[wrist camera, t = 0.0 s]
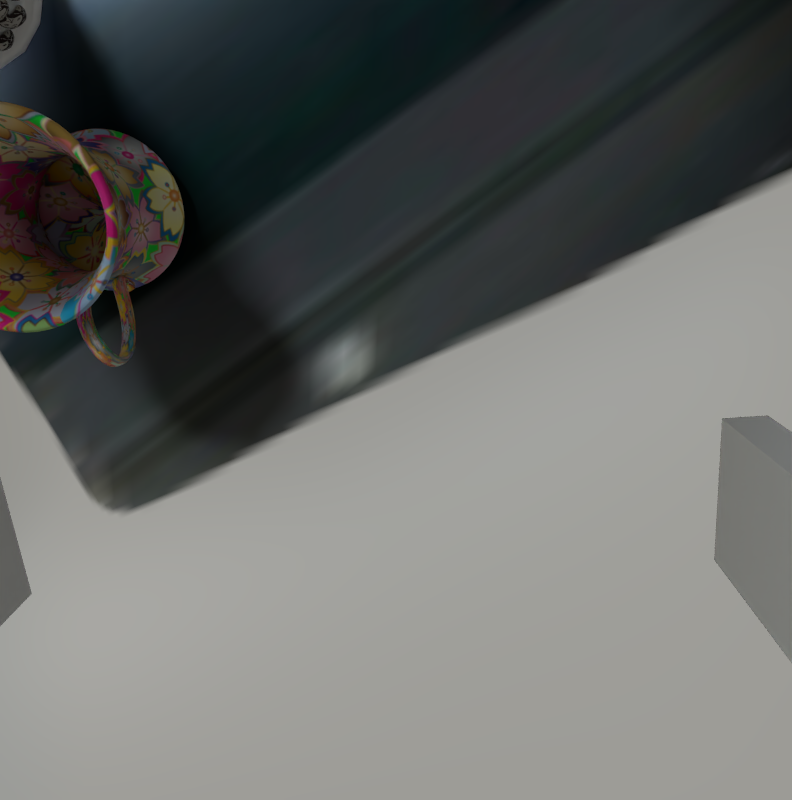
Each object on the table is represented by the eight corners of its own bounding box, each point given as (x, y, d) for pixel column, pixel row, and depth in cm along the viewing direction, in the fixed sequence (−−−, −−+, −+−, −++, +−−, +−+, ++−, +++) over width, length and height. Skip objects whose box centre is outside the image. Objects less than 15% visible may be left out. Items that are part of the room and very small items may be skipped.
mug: (-1, 167, 39) (-154, 162, 28) (143, 91, 37) (36, 57, 27) (111, 361, 42) (9, 419, 32) (249, 298, 40) (188, 338, 30)
